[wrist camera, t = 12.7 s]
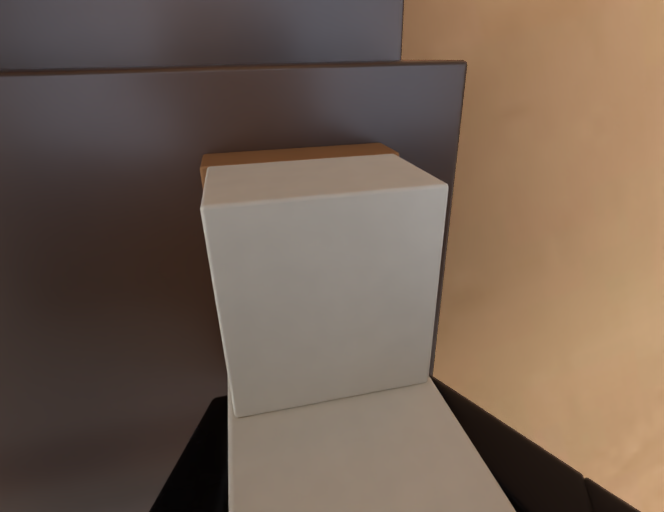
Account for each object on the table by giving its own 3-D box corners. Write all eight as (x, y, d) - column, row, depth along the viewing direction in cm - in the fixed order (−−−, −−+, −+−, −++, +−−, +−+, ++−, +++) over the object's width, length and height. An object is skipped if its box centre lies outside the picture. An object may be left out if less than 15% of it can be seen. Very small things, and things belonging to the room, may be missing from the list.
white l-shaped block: (372, 431, 10) (486, 720, 6) (249, 457, 10) (268, 800, 5) (381, 142, 7) (638, 277, 3) (202, 153, 7) (152, 351, 2)
